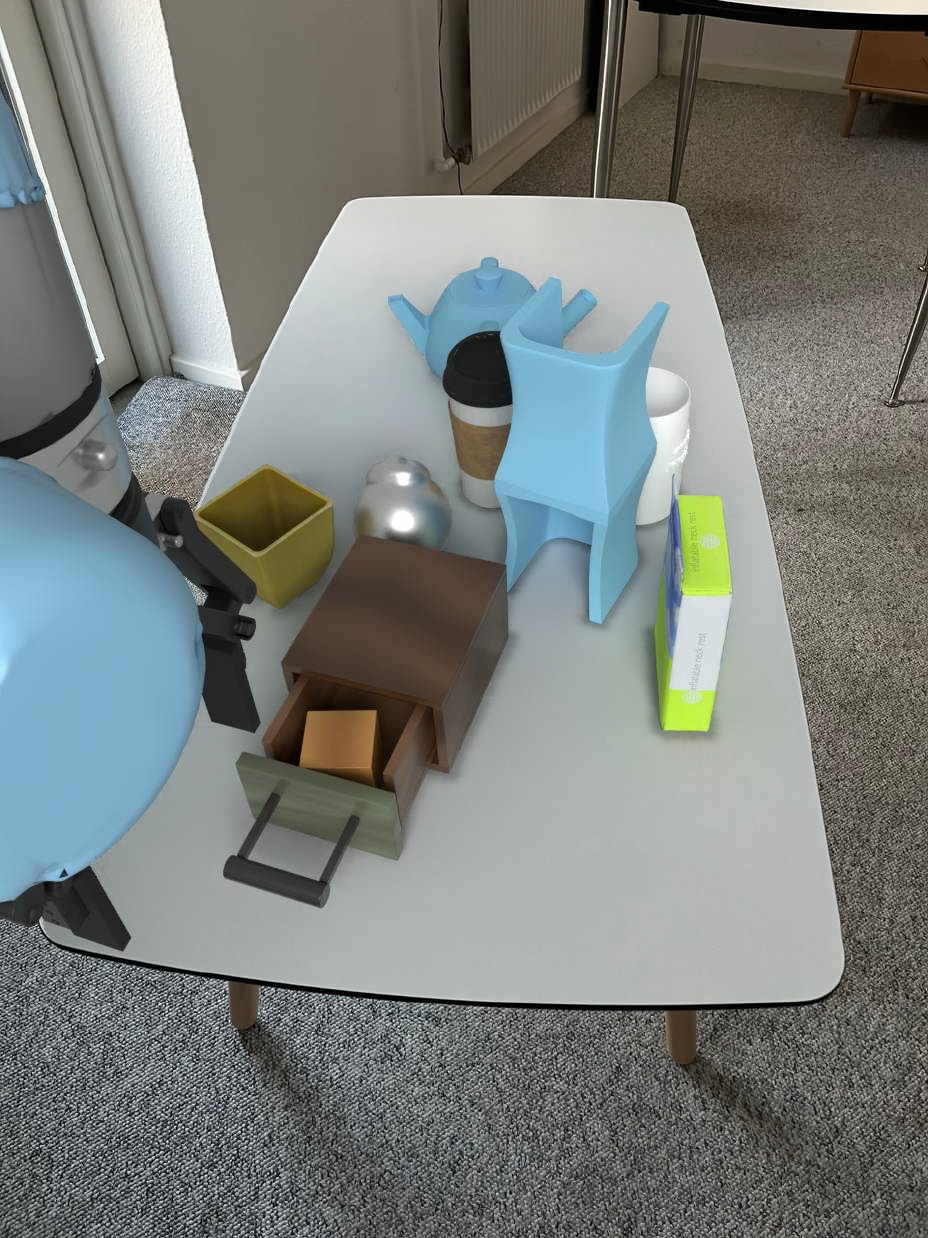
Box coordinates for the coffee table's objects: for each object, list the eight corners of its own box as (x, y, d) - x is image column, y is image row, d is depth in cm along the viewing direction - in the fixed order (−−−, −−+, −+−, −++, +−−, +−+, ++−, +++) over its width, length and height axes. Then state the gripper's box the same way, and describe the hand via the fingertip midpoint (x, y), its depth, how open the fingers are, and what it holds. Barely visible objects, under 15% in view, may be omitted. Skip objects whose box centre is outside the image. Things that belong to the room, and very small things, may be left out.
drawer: (359, 948, 70) (346, 897, 66) (207, 899, 74) (184, 847, 69) (462, 716, 83) (458, 658, 78) (330, 683, 86) (317, 625, 81)
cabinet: (449, 774, 81) (442, 702, 75) (298, 734, 84) (280, 662, 78) (508, 638, 90) (506, 564, 84) (371, 606, 93) (359, 533, 87)
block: (309, 809, 77) (298, 768, 73) (317, 752, 80) (307, 710, 77) (379, 808, 77) (371, 767, 73) (383, 751, 80) (376, 709, 76)
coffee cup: (549, 472, 105) (551, 338, 94) (517, 526, 100) (515, 390, 89) (471, 453, 107) (464, 320, 97) (435, 504, 102) (424, 370, 91)
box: (710, 734, 82) (742, 572, 70) (656, 732, 83) (678, 571, 70) (699, 633, 89) (726, 470, 77) (650, 632, 90) (668, 469, 77)
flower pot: (211, 588, 96) (188, 512, 89) (283, 537, 100) (266, 460, 94) (277, 634, 92) (257, 557, 85) (349, 578, 96) (336, 501, 89)
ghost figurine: (467, 527, 100) (462, 440, 93) (439, 597, 94) (431, 511, 86) (376, 513, 102) (364, 427, 95) (342, 581, 96) (326, 495, 88)
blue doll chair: (645, 552, 96) (671, 303, 78) (601, 624, 91) (617, 373, 72) (547, 521, 100) (549, 275, 82) (498, 588, 94) (489, 339, 76)
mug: (688, 451, 106) (702, 346, 97) (676, 530, 98) (690, 423, 89) (605, 442, 108) (612, 338, 99) (587, 520, 100) (592, 413, 91)
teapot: (509, 427, 110) (507, 331, 102) (390, 369, 118) (379, 276, 110) (599, 361, 118) (604, 266, 110) (481, 311, 126) (477, 220, 118)
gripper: (-113, 796, 30) (104, 1079, 46) (276, 338, 46) (340, 663, 62) (-311, 733, 32) (-39, 1024, 48) (127, 314, 48) (225, 635, 64)
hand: (174, 821), depth 55 cm, fingers open, 13 cm apart
